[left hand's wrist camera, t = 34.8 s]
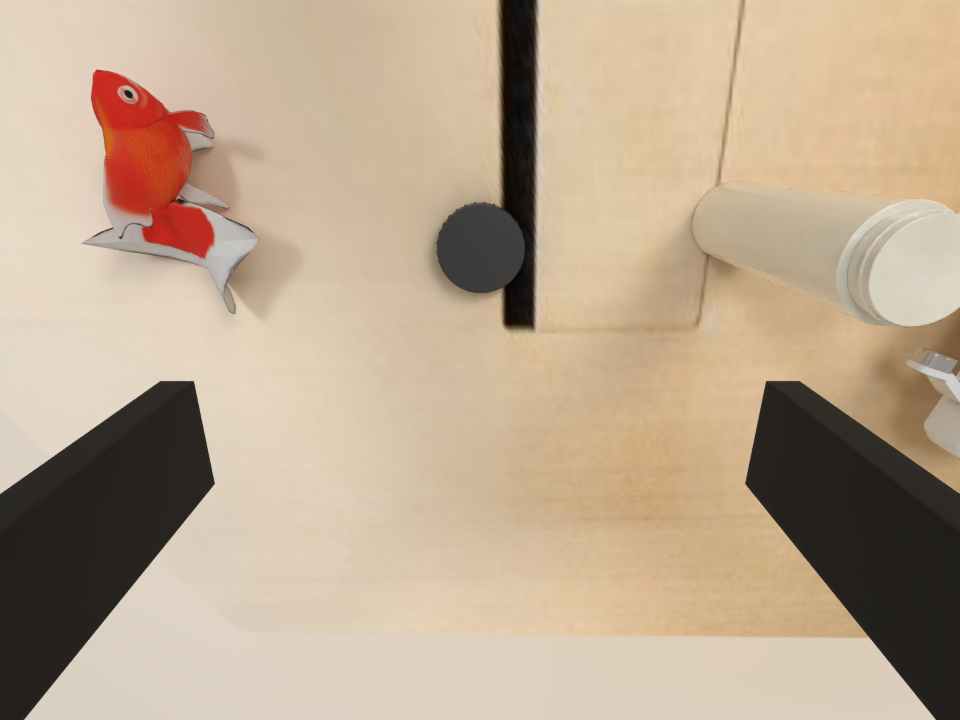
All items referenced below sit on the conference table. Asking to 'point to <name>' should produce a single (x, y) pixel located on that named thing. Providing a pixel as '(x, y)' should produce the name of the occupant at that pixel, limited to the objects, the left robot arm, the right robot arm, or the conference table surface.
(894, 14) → the conference table surface
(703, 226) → the jar
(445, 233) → the lid
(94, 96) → the fish
